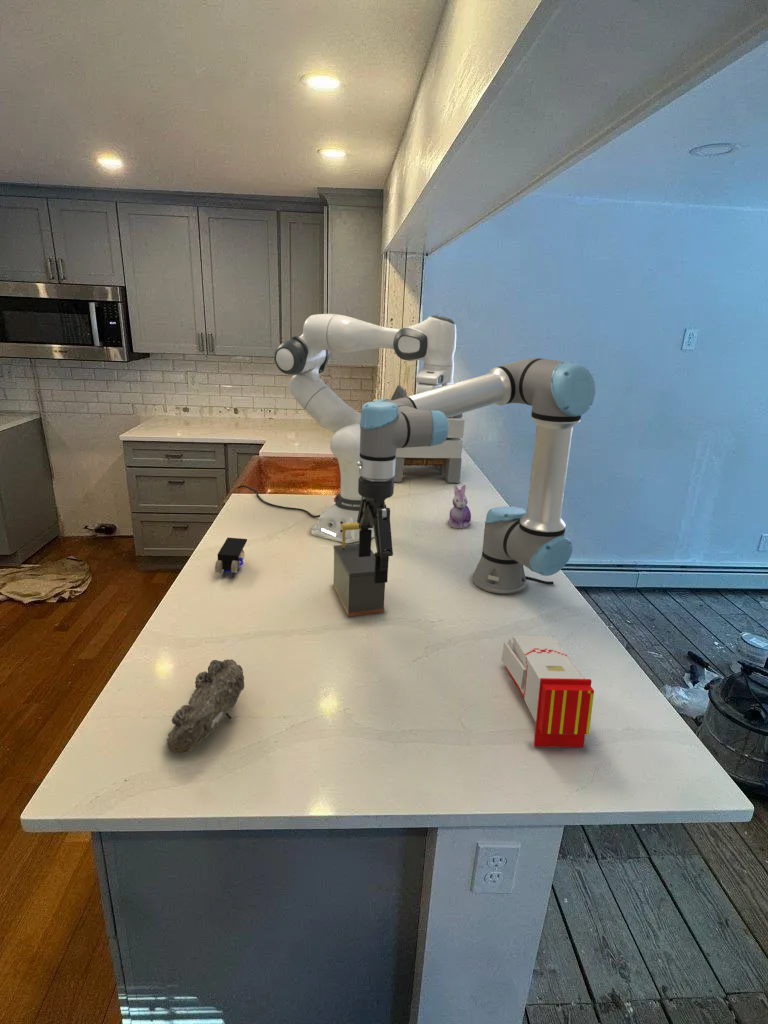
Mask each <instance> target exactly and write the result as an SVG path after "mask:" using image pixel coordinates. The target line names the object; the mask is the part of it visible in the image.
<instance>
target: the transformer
mask: <svg viewBox="0 0 768 1024" xmlns="http://www.w3.org/2000/svg"><path fill="white" fill-rule="evenodd" d="M407 394H408V393H407V390H406V389H404V388H403V387H402V385H399V384H398V385H397V386H396V388H395V390H394V392H393V394H392V395H391V398H390V400H396V399H400V398H404V397H408V396H409V395H407ZM447 420H448V424H449V429H448V436H447V438H446V440H445V441H444V442H443V443H442V444H440V445H434V446H430V447H428V446H423V447H407V448H396V462H395V476H394V477H393V479H394V483H402V482H403V475H404V469H405V466H406V467H407V466H411V467H412V466H413V467H415V466H416V467H417V466H418V467H436V468H437V470H438V469H439V473H440V474H441V475H443V478H444V479H445V481H446V482H447V483H449V484H455V483H456V484H459V483H461V472H462V461H463V460H462V453H463V442H464V441H463V440H462V439H463V438H464V431H465V430H464V429H465V419H464V418H463V413H462V414H458V415H455V416H452V417H448V418H447Z"/></svg>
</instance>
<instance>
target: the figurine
mask: <svg viewBox="0 0 768 1024" xmlns="http://www.w3.org/2000/svg"><path fill="white" fill-rule="evenodd" d="M466 489H467V485H465V484H463V485H462V486H461V488H460V489H459V488H458V486H457V485H454V486H453V491H454V492H453V493H454V496H453V498H452V505H453V506H452V508H450V510H449V515H448V516H449V518H448V524H449V526H450V527H451V528H454V529H462V528H467V527H469V526H470V523H471V519H472V513H471V510H470V508H469V507H468V503H469V502H468V498H467V496H466Z"/></svg>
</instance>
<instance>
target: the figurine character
mask: <svg viewBox="0 0 768 1024" xmlns="http://www.w3.org/2000/svg"><path fill="white" fill-rule="evenodd" d="M247 542H248V538H240V537H226V539H225V541H224V543H223V544H222V546H221V547H220V549H219V551H218V552H217V560H216V562H215V564H214V572H215V573H221V577H222V578H224V577H225V576H226V574H227V573H230V574H231V573H232V574H231V578H234V577H235V575H236V573H237V572H239V571H240V567H242V566H243V565H244V564H245V562H244V558H245V551H244V547H245V546H246V544H247Z"/></svg>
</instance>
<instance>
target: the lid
mask: <svg viewBox="0 0 768 1024" xmlns="http://www.w3.org/2000/svg"><path fill="white" fill-rule="evenodd" d="M341 529H342V542H341V544H336V545H335V544H334V545H333V551H334V550H335V552H336V554H337V556H338V557H339V559H340V561H341V563H342V565H343V567H344V568H345V570H346V572H347V574H348V576H349V577H355V576H365V575H374V573H375V556H374V554H375V552H373V550H372V549H371V556H369V557H359V543H347V544H346V543H345V530H357V529H359V524H358V523H357V522H355V523H342V524H341ZM360 530H361V529H360Z"/></svg>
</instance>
